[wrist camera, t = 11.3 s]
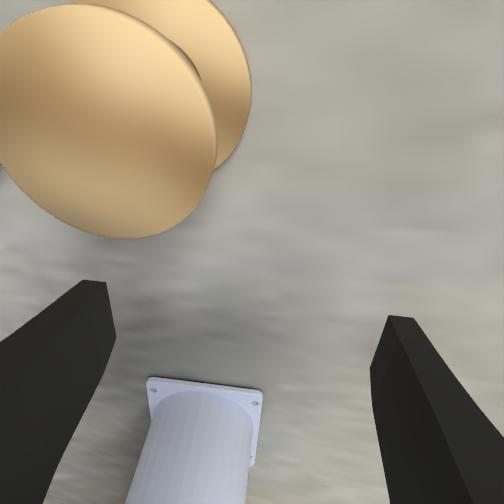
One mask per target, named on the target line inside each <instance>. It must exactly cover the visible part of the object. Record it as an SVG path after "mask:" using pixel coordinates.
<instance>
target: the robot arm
mask: <svg viewBox="0 0 504 504" xmlns="http://www.w3.org/2000/svg"><path fill="white" fill-rule="evenodd" d="M115 340H116V332H115V327H114V322H113V317H112V311H111V306H110V301H109V295H108V290H107V285H106V282H99V281H90V280H82V281H81V282H79V283H78V284H77V285H75V286H74V287H73V288H71V289H70V290H69V291H67V292H66V293H65V294H64V295H62V296H61V297H60V298H58V299H57V300H56V301H55V302H53V303H52V304H51V305H49V306H48V307H47V308H45V309H44V310H43V311H42V312H40V313H39V314H38V315H36V316H35V317H34V318H32V319H31V320H30V321H28V322H27V323H26V324H24V325H23V326H22V327H20V328H19V329H18V330H16V331H15V332H14V333H12V334H11V335H10V336H8V337H7V338H5V339H4V340H3V341H1V342H0V504H43V501H44V499H45V496H46V494H47V491H48V488H49V486H50V483H51V481H52V478H53V476H54V473H55V471H56V469H57V466H58V464H59V462H60V460H61V458H62V456H63V453H64V451H65V449H66V447H67V445H68V443H69V441H70V439H71V438H72V436H73V434H74V432H75V430H76V428H77V426H78V424H79V422H80V420H81V418H82V416H83V414H84V412H85V410H86V408H87V406H88V404H89V402H90V400H91V398H92V396H93V394H94V392H95V390H96V388H97V386H98V384H99V382H100V380H101V378H102V376H103V374H104V371H105V368H106V366H107V363H108V360H109V358H110V355H111V352H112V349H113V346H114V343H115ZM370 380H371V396H372V408H373V413H374V419H375V424H376V430H377V435H378V441H379V446H380V451H381V457H382V462H383V467H384V472H385V478H386V483H387V488H388V493H389V499H390V504H504V437H503V436H502V435H501V434H500V432H499V431H498V430H497V429H496V428H495V426H494V425H493V424H492V423H491V422H490V420H489V419H488V418H487V417H486V416H485V414H484V413H483V412H482V411H481V409H480V408H479V407H478V406H477V404H476V403H475V402H474V401H473V399H472V398H471V397H470V395H469V394H468V393H467V391H466V390H465V389H464V387H463V386H462V385H461V384H460V382H459V381H458V380H457V378H456V377H455V376H454V374H453V373H452V372H451V370H450V369H449V367H448V366H447V365H446V363H445V362H444V360H443V359H442V358H441V356H440V355H439V353H438V352H437V351H436V349H435V348H434V346H433V345H432V343H431V342H430V341H429V339H428V338H427V336H426V335H425V333H424V332H423V330H422V329H421V328H420V326H419V325H418V323H417V322H416V321H415V319H414V318H410V317H401V316H393V315H388V318H387V321H386V324H385V327H384V330H383V332H382V335H381V338H380V341H379V344H378V347H377V349H376V352H375V355H374V358H373V361H372V363H371V366H370ZM146 389H147V396H148V403H149V410H150V417H151V425H150V428H149V431H148V434H147V437H146V440H145V444H144V447H143V450H142V453H141V456H140V459H139V462H138V465H137V468H136V471H135V474H134V477H133V480H132V483H131V487H130V490H129V493H128V496H127V499H126V502H125V504H245V502H246V492H247V483H248V474H249V466H253V465H254V464H255V456H256V448H257V440H258V433H259V425H260V417H261V409H262V401H263V393H262V392H261V391H259V390H254V389H246V388H238V387H230V386H222V385H214V384H206V383H198V382H190V381H182V380H174V379H166V378H158V377H150V378H148V379H147V382H146Z"/></svg>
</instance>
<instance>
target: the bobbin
mask: <svg viewBox="0 0 504 504" xmlns="http://www.w3.org/2000/svg"><path fill="white" fill-rule="evenodd" d="M251 97H252V92H251V76H250V69H249V65H248V61H247V57H246V54H245V52H244V49H243V46H242V44H241V41H240V40H239V38H238V36H237V34H236V32H235V30H234V28H233V27H232V26H231V24H230V23H229V21H228V20H227V18H226V17H225V16H224V14H223V13H222V12H221V11H220V10H219V9H218V8H217V7H216V6H215V4H213V3H212V2H211V1H210V0H71V1H70V3H69V4H65V5H58V6H54V7H49V8H45V9H41V10H38V11H35V12H32V13H29V14H27V15H25V16H23V17H21V18H19V19H18V20H16V21H14V22H13V23H12V24H10V25H9V26H8V27H7V28H6V29H5V30H3V31H2V32H1V34H0V163H1V165H2V166H3V168H4V169H5V171H6V172H7V174H8V175H9V176H10V177H11V179H12V180H13V181H14V182H15V184H16V185H17V186H18V187H19V188H20V189H21V190H22V191H23V192H24V193H25V194H26V195H27V196H28V197H29V198H30V199H31V200H32V201H33V202H35V203H36V204H37V205H38V206H39V207H41V208H42V209H44V210H45V211H46V212H48V213H49V214H51V215H52V216H54V217H55V218H57V219H59V220H60V221H62V222H64V223H66V224H68V225H70V226H72V227H74V228H77V229H80V230H82V231H85V232H88V233H91V234H95V235H99V236H103V237H110V238H120V239H132V238H142V237H148V236H152V235H155V234H158V233H161V232H164V231H166V230H168V229H170V228H172V227H174V226H175V225H177V224H178V223H180V222H181V221H183V220H184V219H185V218H186V217H187V216H188V215H189V214H190V213H191V212H192V211H193V210H194V209H195V207H196V206H197V205H198V204H199V202H200V200H201V198H202V197H203V195H204V193H205V191H206V189H207V186H208V184H209V181H210V179H211V176H212V174H213V171H214V169H216V168H217V167H218V166H220V165H221V164H222V163H223V162H224V161H225V160H226V159H227V158H228V157H229V155H230V154H231V153H232V152H233V150H234V149H235V147H236V145H237V144H238V142H239V140H240V138H241V136H242V133H243V131H244V128H245V126H246V123H247V119H248V115H249V111H250V105H251Z"/></svg>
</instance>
